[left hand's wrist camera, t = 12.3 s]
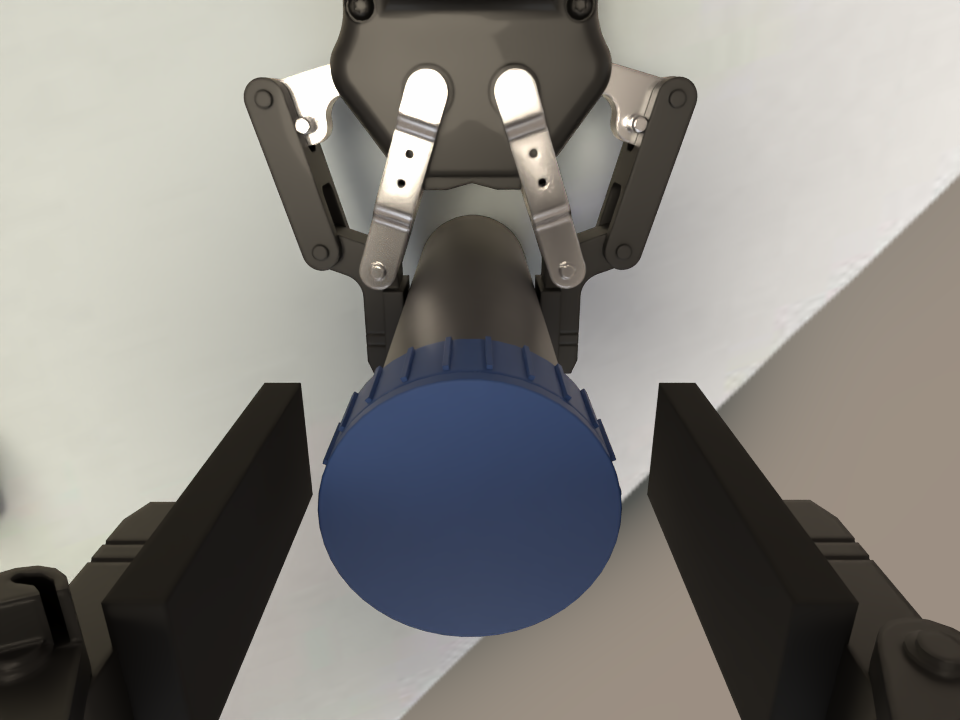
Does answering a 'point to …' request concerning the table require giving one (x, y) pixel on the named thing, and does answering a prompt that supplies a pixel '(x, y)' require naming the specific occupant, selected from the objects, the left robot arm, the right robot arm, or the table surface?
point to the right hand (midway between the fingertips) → (473, 379)
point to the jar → (472, 291)
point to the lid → (469, 490)
